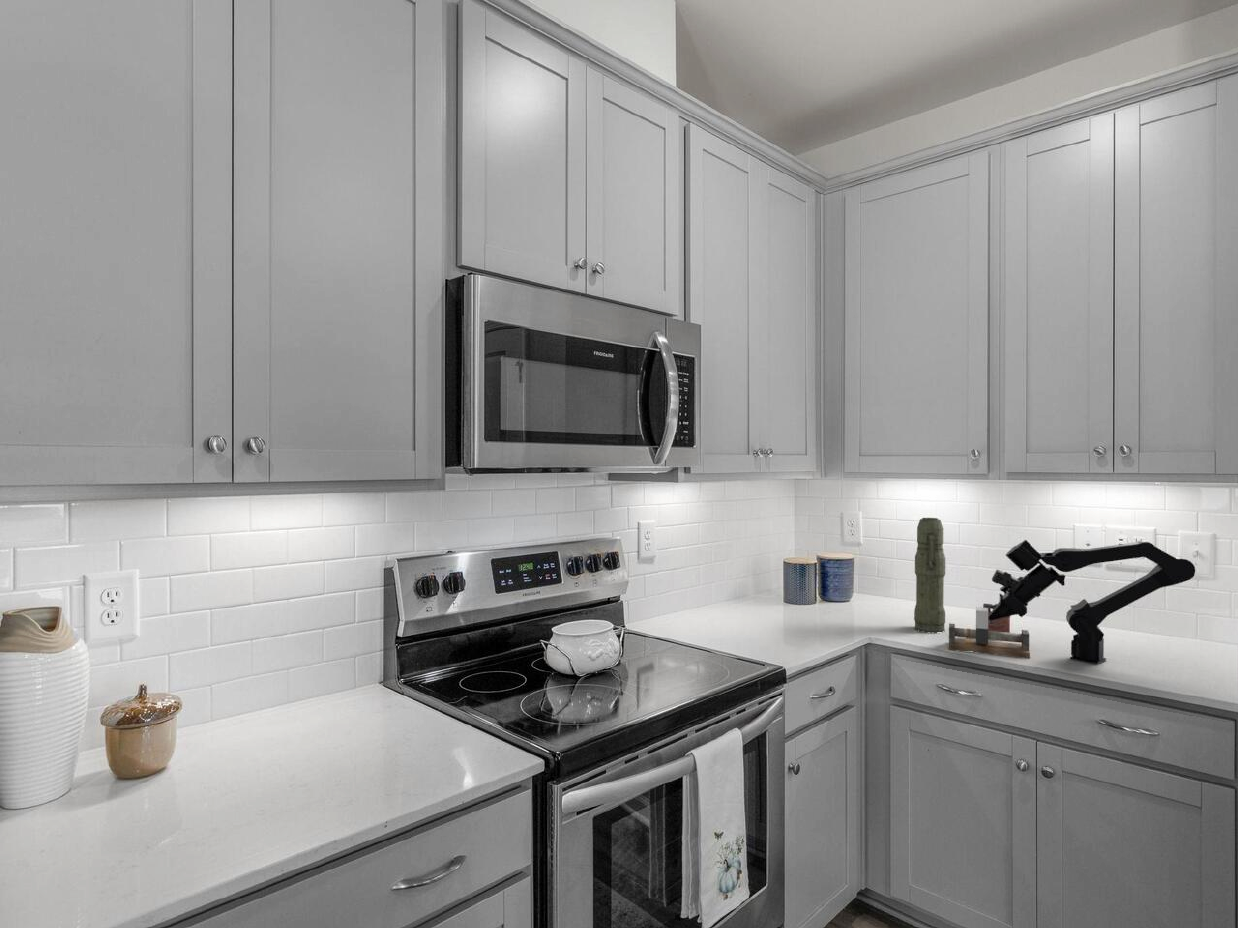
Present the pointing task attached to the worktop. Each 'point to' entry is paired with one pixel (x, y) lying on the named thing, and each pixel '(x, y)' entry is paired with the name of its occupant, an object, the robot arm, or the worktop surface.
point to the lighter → (997, 621)
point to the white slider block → (981, 625)
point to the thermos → (929, 576)
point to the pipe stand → (990, 642)
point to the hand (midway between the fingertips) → (988, 619)
